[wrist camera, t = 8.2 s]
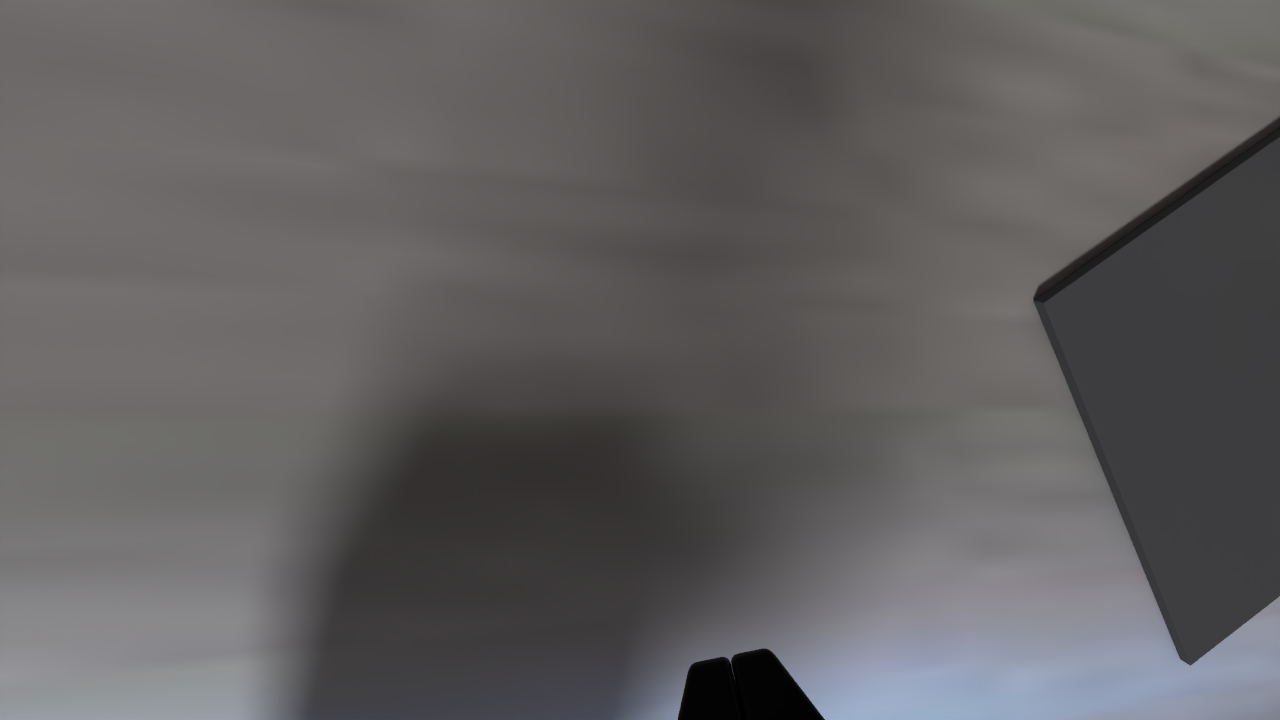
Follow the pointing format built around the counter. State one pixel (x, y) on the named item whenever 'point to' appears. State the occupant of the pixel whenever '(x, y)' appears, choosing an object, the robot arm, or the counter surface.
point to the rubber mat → (1188, 393)
